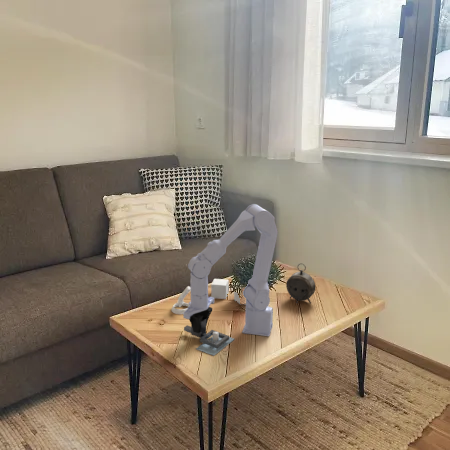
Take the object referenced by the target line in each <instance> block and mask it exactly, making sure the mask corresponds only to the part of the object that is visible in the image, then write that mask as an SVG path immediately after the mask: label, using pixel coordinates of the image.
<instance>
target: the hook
mask: <svg viewBox="0 0 450 450" xmlns="http://www.w3.org/2000/svg"><path fill="white" fill-rule="evenodd" d="M189 293H191V289H190V286H189V285H188V286H186V288H185V289H184V290H183V291H182V293H181V294H180V295H179V296H178V298H177V302H175V303H174V304H173V305H172V307H171V310H170V311H171V312H172V313H173V314H176V315H183V313H184V312H185V311H186V310H187V308H188V307H189V306H190V305H189V302H185V301H184V299H185V298H186V297H187V295H188V294H189ZM183 306H184V307H187V308H183V309H182V308H181V309H179V308H180V307H183ZM176 307H177V308H176Z"/></svg>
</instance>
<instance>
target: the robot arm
mask: <svg viewBox="0 0 450 450" xmlns="http://www.w3.org/2000/svg"><path fill="white" fill-rule="evenodd" d="M275 220H276V217H275V216H274V215H273V214H272V213H271V212H270V211H268V210H266V209H264V208H263V207H261V206H260V205H259V204H256V203H252V204H249V205H248V206H247V207H246V208H245V209H244V210H243V211H241V213H240V214H239V216H238V217H237V219H236V220H235V221H234V222H233V224H231V226H230V227H229V228H228V229H227V230H226V231H225V232H224V233H223V234H222V235H221V237H220V238H219V239H213V240H212V241H209V242H207V246H205V247H204V249H202V250H201V252H198V253H197V254H196V256H193V257H191V259H189V261H188V264H187V268H188V270H189V271H190V279H189V280H190V286H189V287H190V289H191V290H190V301H189V302H188V304H189V305H190V306H189V307H188V306H187V310H186V311H185V312H184V313H183V314H182V315H183V319H185V320H189V322H190V325H192V328H193V331H194V332H196V333H199V332H200V325H201V320H202V318H203V317H204V318H206V327H207V325H208V321H209V319H210V315H211V313H212V312H213V307H211V305H213V304H215V298H213V297H211V296H209V280H208V277H209V275H210V273H211V269H212V267H213V266H214V265H215V264H216V263H217V262H218V261H219V260H220V259H221V258H222V257H223V256H224V255H225V254H226V252H227V247H228V246H229V245H231V244H232V243H234V241H235V240H236V239H237V238H238V237H240V236H241V234H243V233H244V232H247V231H248V232H249V231H253V232H254V231H256V230H257V231H258V232H259V234H260V237H259V241H258V242H259V243H258V247H257V252H256V258H255V261H254V266H253V269H252V270H253V275H252V278H251V279H249V280H248V284H247V286H246V287H245V289H244V291H243V295H244V297H245V298H246V304H245V317H244V321H245V324H244V325H243V329H242V332H241V333H242V334H247V335H254V336H255V335H256V336H262V337H270V336H271V333H272V329H273V326H274V325H273V321H274V320H273V319H274V317H273V316H274V314H273V313H274V308H273V307H271V306H269V305H270V302H271V299H270V287H269V284H268V281H269V275H270V271H271V267H272V262H273V257H274V253H275V247H276V244H277V239H278V233H279V232H278V227H277V225H276V222H275Z"/></svg>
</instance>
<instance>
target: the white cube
mask: <svg viewBox="0 0 450 450" xmlns="http://www.w3.org/2000/svg"><path fill="white" fill-rule="evenodd" d="M229 283H230V282H229V279H227V278H226V279H225V278H214V279H213V281H212V282H211V285H210V287H211V288H210V290H211V293H210V297H213V298H214V299H219V300H220V299H222V300H226V299H227V298H228V295H227V294H229V285H230V284H229ZM226 297H227V298H226Z"/></svg>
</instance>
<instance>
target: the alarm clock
mask: <svg viewBox="0 0 450 450" xmlns="http://www.w3.org/2000/svg"><path fill="white" fill-rule="evenodd" d="M300 265H303V266H304V270H303V269H301V270H300V269H299V266H300ZM296 268H297V270H298V271H297V272H294V273H293V274H292V275H291V276H289V278H288V279H287V281H286V291H287V293H288V294H289V298H290V299H291V298H292V299H294V300H295V301H296V304H298V303H299V301H300V302H304V301H305V302H306V301H308V302H309V304H312V302H311V299H310V298H311V297H312V296H313V295H314V294H315V292H316V283H315V279H313V277H312V276H311V275H310V274H308V273H307V272H305V271H306V268H307V267H306V265H305V264H304V263H298V265H297V267H296Z"/></svg>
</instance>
